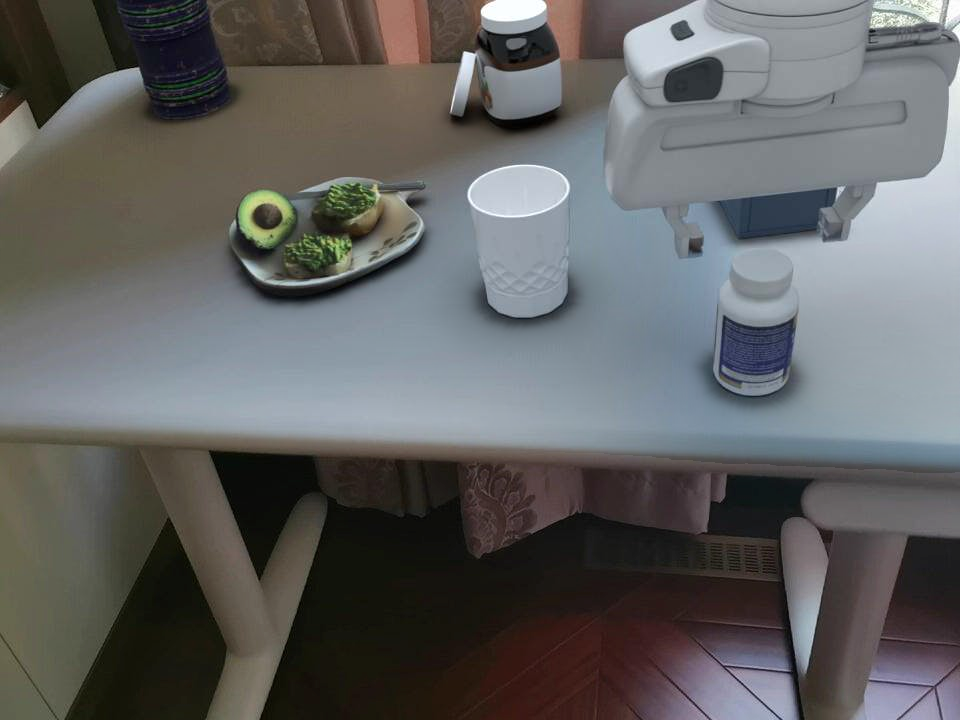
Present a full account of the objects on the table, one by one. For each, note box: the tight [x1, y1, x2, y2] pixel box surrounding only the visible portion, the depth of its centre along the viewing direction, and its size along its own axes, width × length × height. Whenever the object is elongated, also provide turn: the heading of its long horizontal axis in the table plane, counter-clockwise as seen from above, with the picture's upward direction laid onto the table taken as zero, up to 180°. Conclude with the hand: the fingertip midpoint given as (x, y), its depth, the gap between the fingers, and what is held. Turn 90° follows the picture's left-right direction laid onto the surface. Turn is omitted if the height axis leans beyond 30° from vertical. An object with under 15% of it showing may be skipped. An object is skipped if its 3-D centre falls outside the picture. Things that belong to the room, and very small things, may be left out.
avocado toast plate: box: [228, 176, 426, 298], centre depth 89 cm, size 19×18×5 cm
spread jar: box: [450, 0, 563, 128], centre depth 102 cm, size 12×11×12 cm
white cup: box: [466, 164, 571, 318], centre depth 77 cm, size 8×8×10 cm
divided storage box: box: [719, 187, 839, 240], centre depth 87 cm, size 8×15×5 cm, turn 4°
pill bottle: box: [712, 247, 800, 396], centre depth 67 cm, size 5×5×10 cm
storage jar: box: [115, 0, 233, 120], centre depth 111 cm, size 10×10×18 cm
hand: (759, 245), depth 63 cm, fingers open, 8 cm apart
